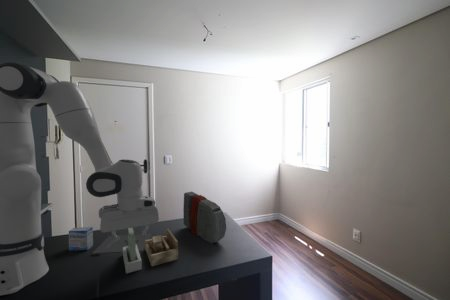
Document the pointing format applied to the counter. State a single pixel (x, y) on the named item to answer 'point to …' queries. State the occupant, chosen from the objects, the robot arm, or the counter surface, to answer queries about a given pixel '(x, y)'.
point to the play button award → (119, 244)
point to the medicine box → (80, 238)
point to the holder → (134, 264)
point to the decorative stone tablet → (204, 217)
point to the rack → (169, 250)
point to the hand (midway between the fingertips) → (131, 238)
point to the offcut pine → (157, 241)
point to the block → (131, 245)
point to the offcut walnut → (157, 249)
